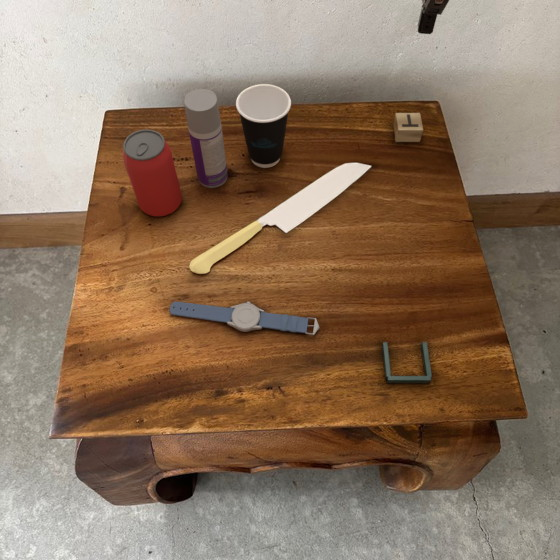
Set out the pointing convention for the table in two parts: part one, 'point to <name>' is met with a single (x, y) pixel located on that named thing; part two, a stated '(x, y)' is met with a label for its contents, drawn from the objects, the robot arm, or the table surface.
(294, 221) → the knife
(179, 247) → the table surface
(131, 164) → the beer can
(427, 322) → the table surface
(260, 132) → the dixie cup
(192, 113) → the container
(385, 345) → the frame
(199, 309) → the wristwatch
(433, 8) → the robot arm
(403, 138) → the letter tile
